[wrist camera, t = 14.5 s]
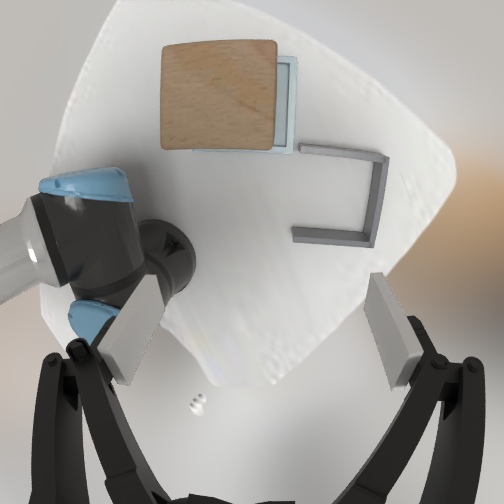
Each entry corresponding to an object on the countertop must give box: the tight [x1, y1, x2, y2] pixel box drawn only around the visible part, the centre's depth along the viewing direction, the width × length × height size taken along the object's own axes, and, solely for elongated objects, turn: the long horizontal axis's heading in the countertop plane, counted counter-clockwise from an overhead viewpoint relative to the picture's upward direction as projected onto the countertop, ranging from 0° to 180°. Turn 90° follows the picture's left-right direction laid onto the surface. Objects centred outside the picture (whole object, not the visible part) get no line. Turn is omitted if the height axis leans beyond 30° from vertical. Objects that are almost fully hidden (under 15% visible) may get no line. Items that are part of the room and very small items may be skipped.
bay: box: [292, 143, 390, 248], centre depth 42 cm, size 14×15×4 cm
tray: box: [192, 56, 297, 154], centre depth 37 cm, size 15×15×2 cm
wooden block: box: [160, 40, 277, 151], centre depth 29 cm, size 10×10×20 cm
